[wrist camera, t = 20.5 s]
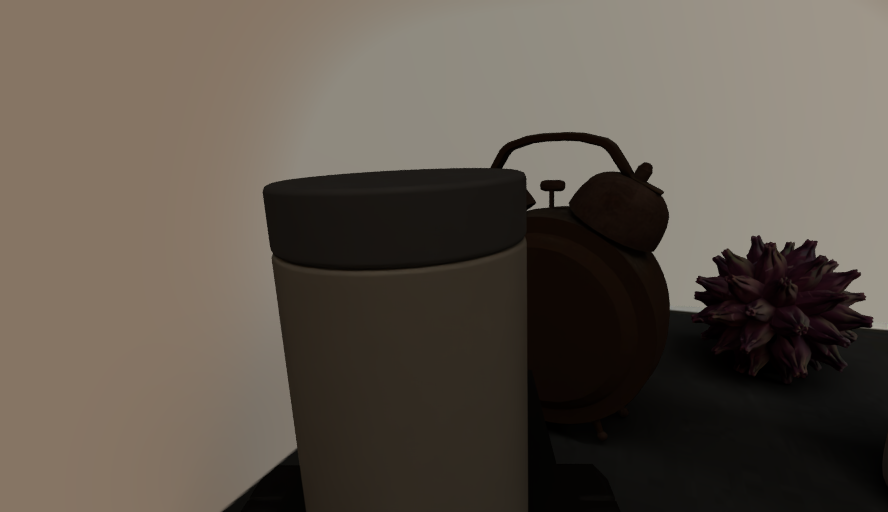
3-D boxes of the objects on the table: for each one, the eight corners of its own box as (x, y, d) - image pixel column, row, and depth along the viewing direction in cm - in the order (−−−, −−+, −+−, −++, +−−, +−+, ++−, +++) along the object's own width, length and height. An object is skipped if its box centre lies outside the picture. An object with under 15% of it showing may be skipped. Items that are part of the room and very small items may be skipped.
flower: (690, 354, 46) (839, 341, 41) (716, 416, 35) (922, 408, 30) (670, 240, 44) (822, 215, 40) (690, 266, 33) (902, 236, 29)
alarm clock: (668, 413, 34) (690, 126, 29) (650, 473, 28) (673, 124, 23) (488, 369, 41) (483, 137, 37) (444, 409, 35) (431, 138, 31)
